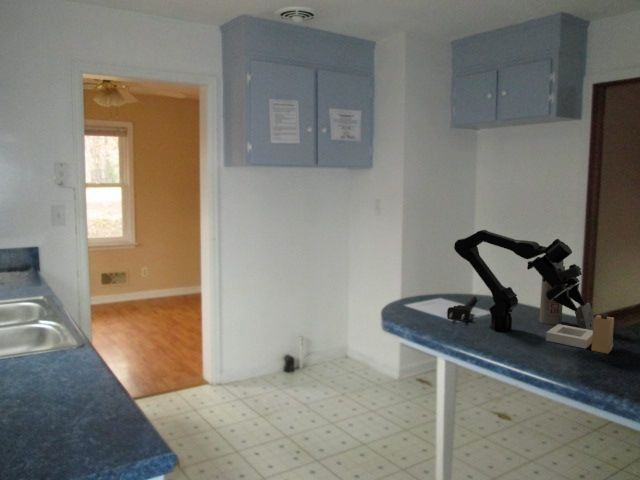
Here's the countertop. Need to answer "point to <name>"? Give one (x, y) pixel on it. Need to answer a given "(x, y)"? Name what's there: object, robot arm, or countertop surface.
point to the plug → (602, 333)
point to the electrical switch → (584, 317)
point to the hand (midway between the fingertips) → (580, 307)
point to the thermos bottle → (550, 303)
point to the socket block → (570, 336)
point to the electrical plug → (460, 311)
